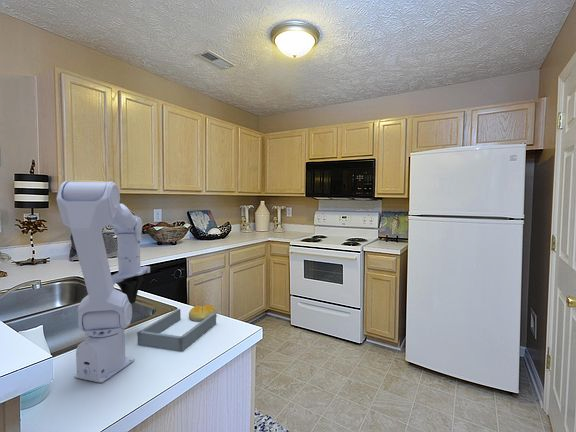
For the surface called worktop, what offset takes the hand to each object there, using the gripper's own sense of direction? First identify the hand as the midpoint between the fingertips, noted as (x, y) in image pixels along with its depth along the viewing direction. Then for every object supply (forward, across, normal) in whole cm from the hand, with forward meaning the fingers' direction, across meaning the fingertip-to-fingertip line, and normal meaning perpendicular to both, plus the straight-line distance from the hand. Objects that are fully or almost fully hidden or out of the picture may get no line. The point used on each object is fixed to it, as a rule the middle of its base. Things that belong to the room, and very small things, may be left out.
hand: (130, 302), depth 88 cm
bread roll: (+10, +17, -14) cm, 24 cm away
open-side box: (+9, +4, -14) cm, 17 cm away
